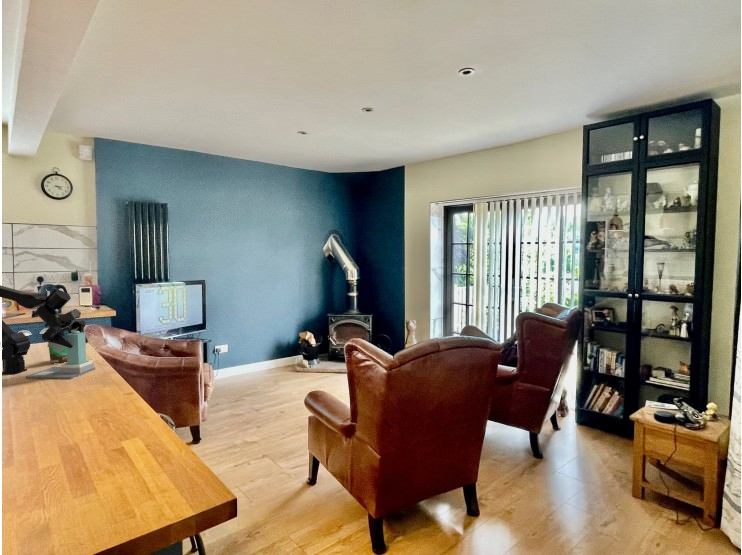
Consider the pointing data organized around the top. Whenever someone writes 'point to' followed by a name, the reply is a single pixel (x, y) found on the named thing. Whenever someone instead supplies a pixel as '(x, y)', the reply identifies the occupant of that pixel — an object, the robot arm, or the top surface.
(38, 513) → the top surface
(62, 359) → the food container
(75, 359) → the pillar
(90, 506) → the top surface
